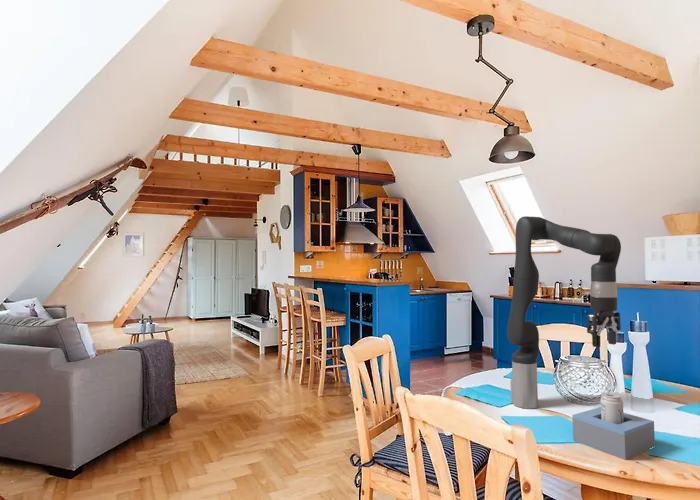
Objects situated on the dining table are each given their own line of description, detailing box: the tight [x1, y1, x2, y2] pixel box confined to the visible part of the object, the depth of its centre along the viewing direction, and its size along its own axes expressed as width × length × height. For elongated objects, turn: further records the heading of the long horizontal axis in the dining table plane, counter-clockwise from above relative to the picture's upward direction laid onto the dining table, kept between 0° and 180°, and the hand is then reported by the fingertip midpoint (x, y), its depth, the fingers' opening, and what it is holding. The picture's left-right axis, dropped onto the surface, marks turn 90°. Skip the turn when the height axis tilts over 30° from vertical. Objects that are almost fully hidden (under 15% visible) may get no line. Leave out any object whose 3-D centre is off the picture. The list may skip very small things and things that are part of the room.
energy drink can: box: [600, 392, 624, 424], centre depth 135 cm, size 6×6×15 cm
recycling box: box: [571, 406, 656, 461], centre depth 135 cm, size 16×16×8 cm
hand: (604, 345), depth 140 cm, fingers open, 8 cm apart
